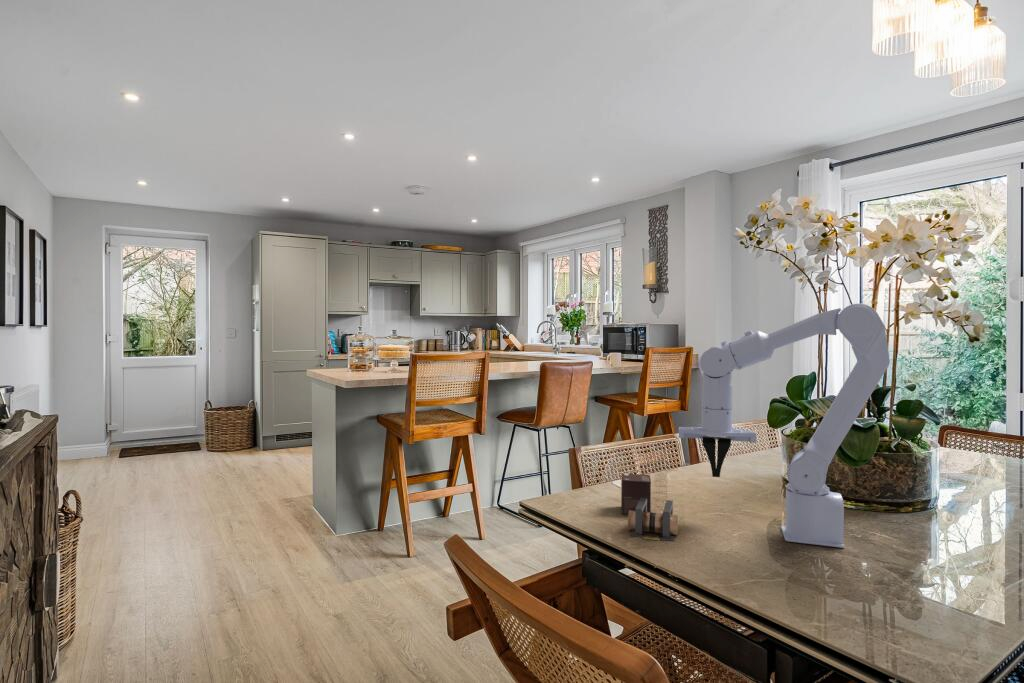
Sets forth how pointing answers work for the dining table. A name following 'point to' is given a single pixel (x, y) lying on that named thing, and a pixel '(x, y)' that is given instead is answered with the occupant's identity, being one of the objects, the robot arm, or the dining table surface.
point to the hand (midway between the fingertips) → (716, 475)
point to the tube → (653, 522)
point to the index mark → (651, 538)
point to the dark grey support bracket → (667, 521)
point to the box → (635, 491)
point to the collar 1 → (639, 518)
